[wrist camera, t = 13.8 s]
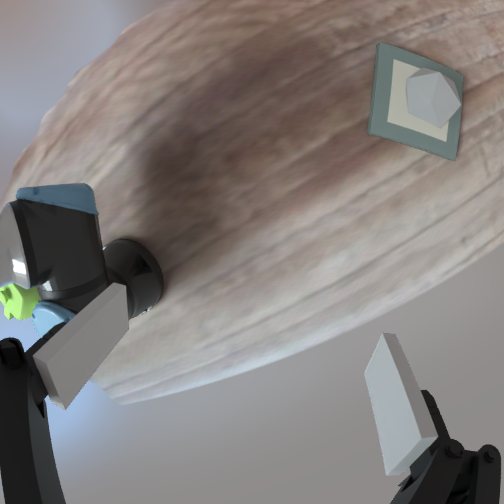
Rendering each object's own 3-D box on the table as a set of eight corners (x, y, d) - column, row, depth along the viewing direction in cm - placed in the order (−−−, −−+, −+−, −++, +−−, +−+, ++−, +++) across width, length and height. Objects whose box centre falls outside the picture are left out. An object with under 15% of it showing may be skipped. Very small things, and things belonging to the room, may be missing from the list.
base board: (366, 133, 41) (370, 132, 39) (376, 45, 35) (380, 41, 33) (449, 160, 40) (455, 160, 38) (457, 76, 34) (463, 74, 32)
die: (451, 114, 36) (468, 71, 26) (443, 148, 34) (465, 103, 25) (406, 92, 39) (416, 47, 29) (393, 124, 37) (405, 74, 28)
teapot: (74, 276, 57) (38, 303, 44) (57, 327, 63) (29, 354, 51) (26, 228, 55) (-12, 245, 42) (15, 283, 61) (-16, 304, 49)
